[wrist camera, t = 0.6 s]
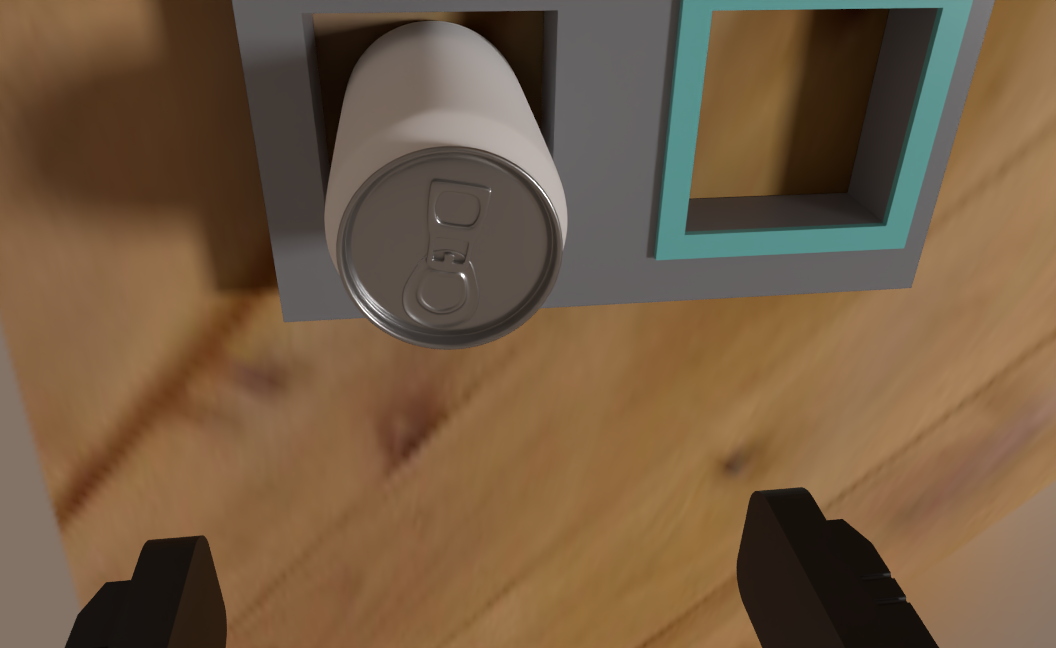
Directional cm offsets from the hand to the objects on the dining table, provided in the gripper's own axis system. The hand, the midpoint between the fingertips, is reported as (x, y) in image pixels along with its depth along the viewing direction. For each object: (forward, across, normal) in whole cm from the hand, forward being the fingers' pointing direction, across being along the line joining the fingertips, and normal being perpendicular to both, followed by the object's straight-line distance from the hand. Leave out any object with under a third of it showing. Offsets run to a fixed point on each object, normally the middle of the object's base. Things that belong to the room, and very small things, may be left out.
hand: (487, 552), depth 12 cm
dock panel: (+22, -6, 0) cm, 23 cm away
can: (+22, 0, 0) cm, 22 cm away
